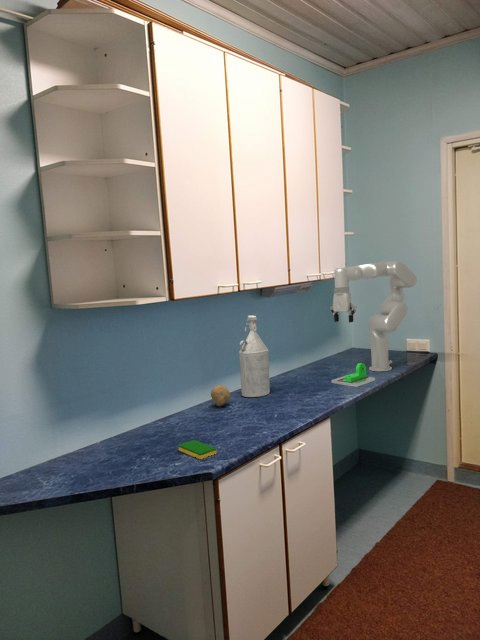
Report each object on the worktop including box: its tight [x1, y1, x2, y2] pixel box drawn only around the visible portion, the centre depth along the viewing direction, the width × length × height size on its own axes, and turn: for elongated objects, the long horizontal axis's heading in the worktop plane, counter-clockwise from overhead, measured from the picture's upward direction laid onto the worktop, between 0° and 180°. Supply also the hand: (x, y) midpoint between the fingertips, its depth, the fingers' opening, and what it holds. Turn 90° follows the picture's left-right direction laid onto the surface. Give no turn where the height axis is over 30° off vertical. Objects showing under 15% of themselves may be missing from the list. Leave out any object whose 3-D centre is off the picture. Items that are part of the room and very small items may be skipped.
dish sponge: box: [178, 439, 218, 460], centre depth 179 cm, size 7×14×2 cm, turn 39°
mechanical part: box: [343, 362, 367, 382], centre depth 266 cm, size 12×6×8 cm, turn 126°
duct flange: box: [331, 375, 376, 388], centre depth 267 cm, size 16×16×2 cm
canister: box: [238, 315, 271, 398], centre depth 253 cm, size 13×17×40 cm
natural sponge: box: [210, 384, 231, 407], centre depth 237 cm, size 9×9×10 cm
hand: (343, 321), depth 278 cm, fingers open, 9 cm apart
